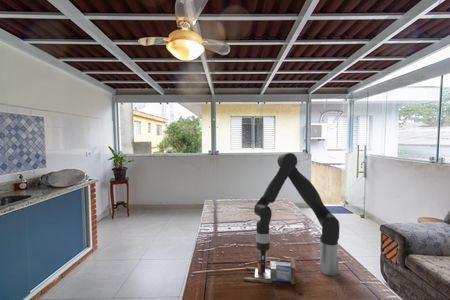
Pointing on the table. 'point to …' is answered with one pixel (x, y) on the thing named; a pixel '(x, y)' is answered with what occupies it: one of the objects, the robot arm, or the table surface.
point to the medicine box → (283, 271)
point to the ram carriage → (266, 271)
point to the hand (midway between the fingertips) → (263, 268)
